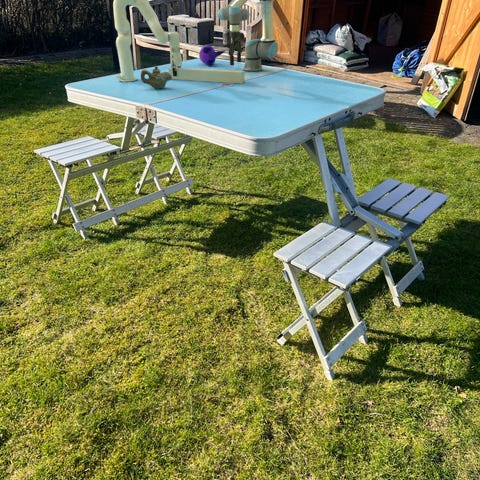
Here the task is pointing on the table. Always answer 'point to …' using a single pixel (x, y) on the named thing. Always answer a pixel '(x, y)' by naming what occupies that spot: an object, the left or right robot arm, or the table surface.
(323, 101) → the table surface
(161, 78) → the teapot
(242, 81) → the block
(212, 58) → the toy
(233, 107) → the table surface
